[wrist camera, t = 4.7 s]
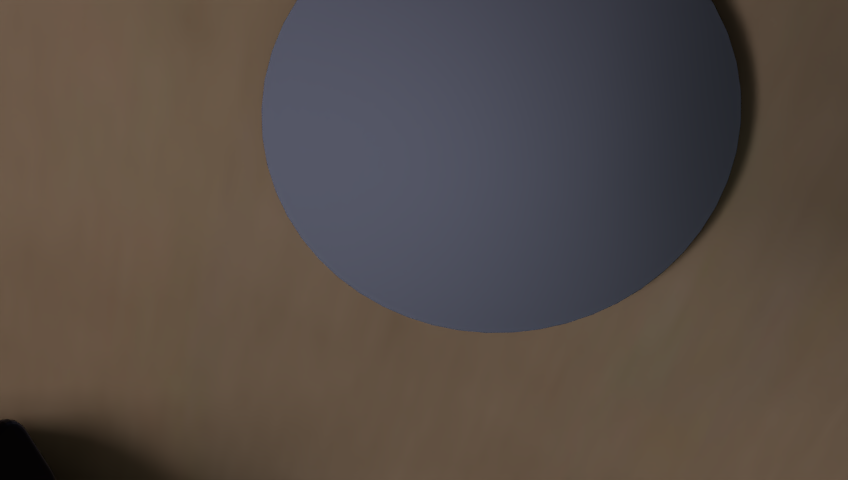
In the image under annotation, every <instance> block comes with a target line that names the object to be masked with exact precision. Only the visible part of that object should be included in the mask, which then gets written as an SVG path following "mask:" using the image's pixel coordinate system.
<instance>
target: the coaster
mask: <svg viewBox="0 0 848 480" xmlns="http://www.w3.org/2000/svg"><path fill="white" fill-rule="evenodd" d="M740 125H741V90H740V83H739V76H738V69H737V62H736V59H735V56H734V52H733V49H732V46H731V42H730V39H729V36H728V33H727V31H726V29H725V26H724V24H723V22H722V20H721V18H720V16H719V14H718V12H717V10H716V8H715V6H714V4H713V2H712V1H711V0H297V1H296V3H295V5H294V7H293V8H292V10H291V12H290V13H289V15H288V17H287V18H286V20H285V22H284V24H283V26H282V29H281V31H280V33H279V36H278V38H277V41H276V43H275V46H274V48H273V50H272V54H271V58H270V62H269V66H268V70H267V74H266V78H265V83H264V92H263V102H262V132H263V142H264V148H265V154H266V159H267V165H268V168H269V171H270V175H271V178H272V181H273V184H274V187H275V190H276V193H277V195H278V197H279V199H280V201H281V203H282V205H283V207H284V210H285V212H286V214H287V216H288V218H289V219H290V221H291V222H292V224H293V225H294V227H295V228H296V230H297V232H298V233H299V235H300V236H301V238H302V239H303V240H304V242H305V243H306V244H307V245H308V246H309V248H310V249H311V250H312V251H313V252H314V253H315V255H316V256H317V257H318V258H319V259H320V260H321V261H322V262H323V263H324V264H325V265H326V266H327V267H328V268H329V269H330V270H331V271H332V272H333V273H335V274H336V275H337V276H338V277H339V278H340V279H342V280H343V281H344V282H346V283H347V284H348V285H350V286H351V287H352V288H354V289H355V290H356V291H358V292H359V293H361V294H362V295H364V296H366V297H368V298H369V299H371V300H373V301H375V302H376V303H378V304H380V305H382V306H383V307H386V308H388V309H390V310H392V311H395V312H397V313H399V314H402V315H404V316H406V317H409V318H412V319H415V320H419V321H422V322H425V323H428V324H431V325H436V326H441V327H446V328H451V329H456V330H462V331H473V332H484V333H499V332H520V331H529V330H537V329H543V328H547V327H552V326H556V325H561V324H565V323H569V322H572V321H575V320H577V319H580V318H583V317H586V316H589V315H592V314H594V313H597V312H599V311H601V310H603V309H605V308H607V307H610V306H612V305H614V304H616V303H618V302H620V301H621V300H623V299H625V298H626V297H628V296H630V295H631V294H633V293H635V292H636V291H638V290H640V289H641V288H643V287H644V286H645V285H647V284H648V283H649V282H650V281H652V280H653V279H654V278H656V277H657V276H658V275H660V274H661V273H662V272H663V271H664V270H665V269H667V268H668V267H669V266H670V265H671V264H672V263H673V262H674V261H675V260H676V259H677V258H678V257H679V256H680V255H681V254H682V253H683V252H684V251H685V250H686V248H687V247H688V246H689V245H690V243H691V242H692V241H693V240H694V238H695V237H696V236H697V235H698V233H699V232H700V231H701V230H702V228H703V226H704V225H705V223H706V222H707V220H708V218H709V217H710V215H711V214H712V212H713V210H714V209H715V207H716V205H717V203H718V201H719V199H720V196H721V194H722V192H723V190H724V188H725V185H726V183H727V181H728V178H729V175H730V172H731V168H732V165H733V162H734V158H735V155H736V151H737V145H738V138H739V131H740Z"/></svg>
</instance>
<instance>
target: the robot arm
mask: <svg viewBox="0 0 848 480" xmlns="http://www.w3.org/2000/svg"><path fill="white" fill-rule="evenodd" d="M0 480H55V477H54V474H53V472H52V471H51V469H50V467H49V466H48V464H47V463H46V461H45V460H44V458H43V456H42V455H41V453H40V452H39V450H38V448H37V447H36V445H35V444H34V442H33V441H32V439H31V437H30V436H29V434H28V433H27V431H26V430H25V428H24V427H23V426H22V425H21V424H19V423H18V422H16V421H15V420H9V419H5V420H0Z"/></svg>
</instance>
